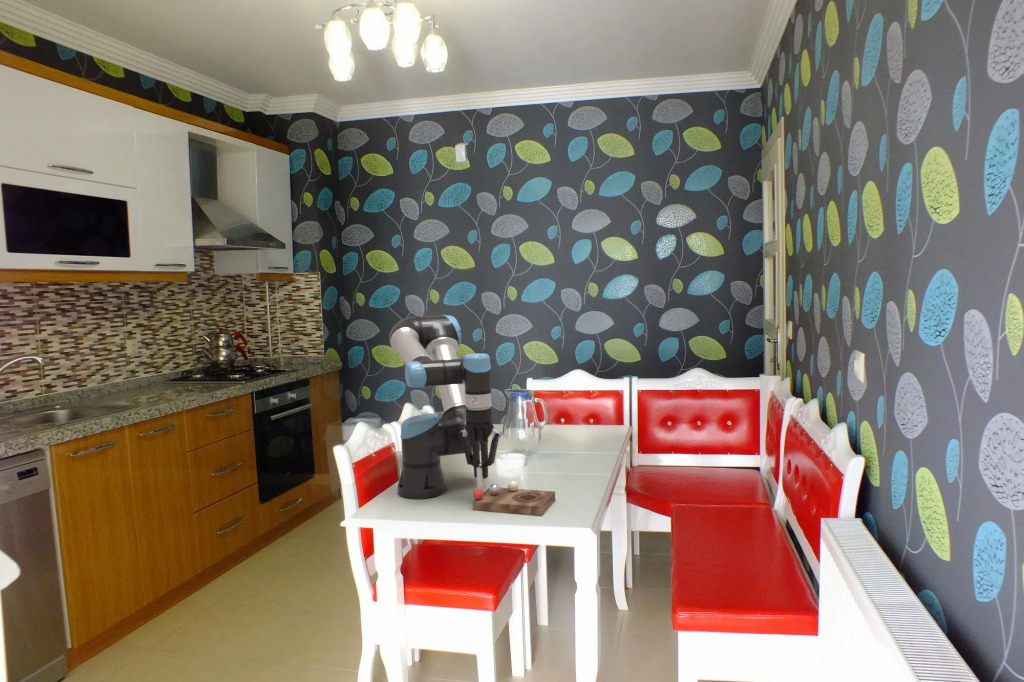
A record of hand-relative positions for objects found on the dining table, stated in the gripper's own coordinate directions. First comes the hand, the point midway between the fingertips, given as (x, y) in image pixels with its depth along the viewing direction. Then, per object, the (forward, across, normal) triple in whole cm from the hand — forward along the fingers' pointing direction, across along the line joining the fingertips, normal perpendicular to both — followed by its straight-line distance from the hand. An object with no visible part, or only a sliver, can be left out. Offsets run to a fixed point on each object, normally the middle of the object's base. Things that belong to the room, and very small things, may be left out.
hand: (481, 488), depth 194 cm
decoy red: (0, +1, -5) cm, 5 cm away
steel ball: (0, +4, 0) cm, 4 cm away
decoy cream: (0, +8, +5) cm, 9 cm away
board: (+4, +10, 0) cm, 11 cm away
